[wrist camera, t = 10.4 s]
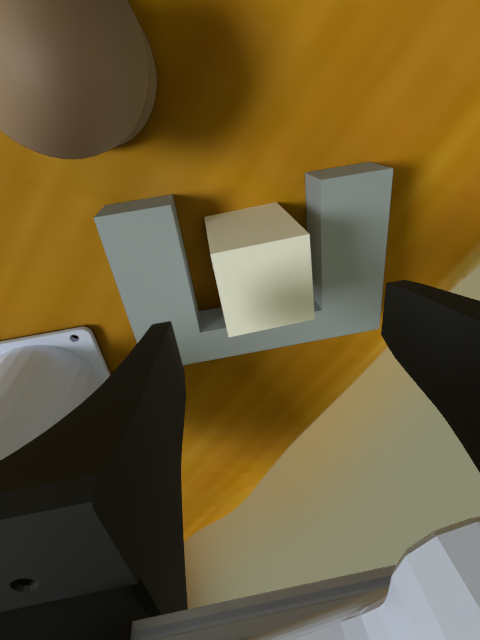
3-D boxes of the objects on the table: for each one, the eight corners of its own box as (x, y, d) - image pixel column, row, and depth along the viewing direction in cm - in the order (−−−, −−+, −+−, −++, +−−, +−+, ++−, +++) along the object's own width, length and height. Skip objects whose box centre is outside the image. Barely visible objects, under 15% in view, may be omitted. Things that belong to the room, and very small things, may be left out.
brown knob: (44, 158, 16) (1, 171, 13) (-21, -12, 13) (-105, -64, 10) (170, 138, 17) (166, 145, 13) (135, -33, 14) (114, -92, 10)
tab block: (218, 283, 21) (228, 337, 16) (204, 216, 19) (210, 254, 14) (283, 269, 21) (314, 319, 16) (276, 202, 19) (309, 233, 14)
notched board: (151, 347, 22) (147, 372, 20) (104, 205, 18) (93, 217, 16) (361, 309, 23) (379, 328, 21) (369, 162, 18) (393, 168, 16)
